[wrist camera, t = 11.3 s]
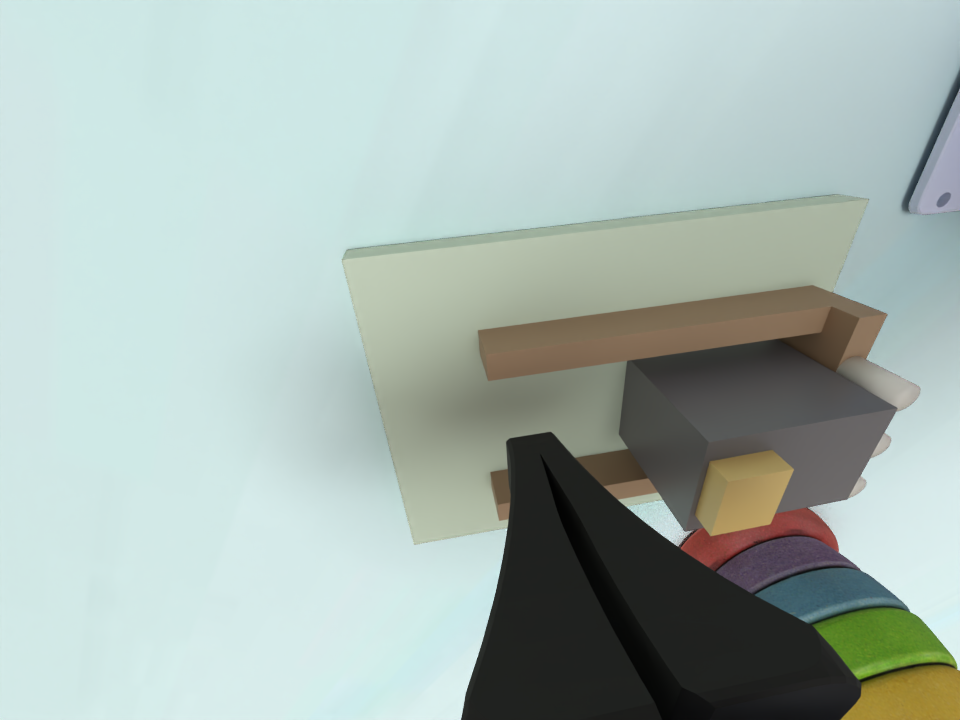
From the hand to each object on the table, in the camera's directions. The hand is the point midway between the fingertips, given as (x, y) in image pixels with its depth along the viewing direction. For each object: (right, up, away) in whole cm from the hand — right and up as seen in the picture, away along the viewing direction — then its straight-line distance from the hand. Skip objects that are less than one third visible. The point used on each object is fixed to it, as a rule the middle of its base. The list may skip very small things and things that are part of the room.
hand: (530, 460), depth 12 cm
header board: (+4, +2, +6) cm, 7 cm away
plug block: (+7, +2, +5) cm, 9 cm away
